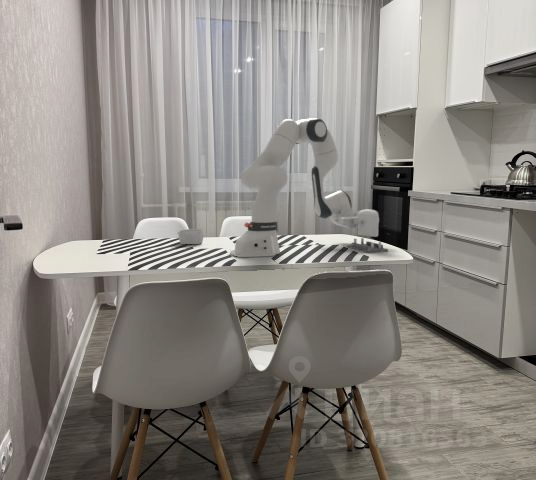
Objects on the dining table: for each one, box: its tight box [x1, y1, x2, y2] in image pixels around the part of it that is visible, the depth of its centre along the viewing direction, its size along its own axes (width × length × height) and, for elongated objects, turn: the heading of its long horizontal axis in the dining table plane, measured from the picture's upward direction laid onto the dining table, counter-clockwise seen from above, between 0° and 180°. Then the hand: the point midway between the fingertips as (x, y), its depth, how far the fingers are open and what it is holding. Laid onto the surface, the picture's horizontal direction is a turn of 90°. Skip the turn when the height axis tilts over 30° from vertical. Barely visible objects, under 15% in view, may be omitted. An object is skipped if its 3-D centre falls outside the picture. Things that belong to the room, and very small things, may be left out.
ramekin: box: [177, 228, 205, 245], centre depth 241 cm, size 13×13×7 cm
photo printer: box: [357, 208, 380, 238], centre depth 218 cm, size 10×4×12 cm, turn 39°
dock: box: [347, 237, 389, 254], centre depth 219 cm, size 10×18×4 cm, turn 22°
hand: (367, 222), depth 217 cm, fingers closed on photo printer, 5 cm apart
